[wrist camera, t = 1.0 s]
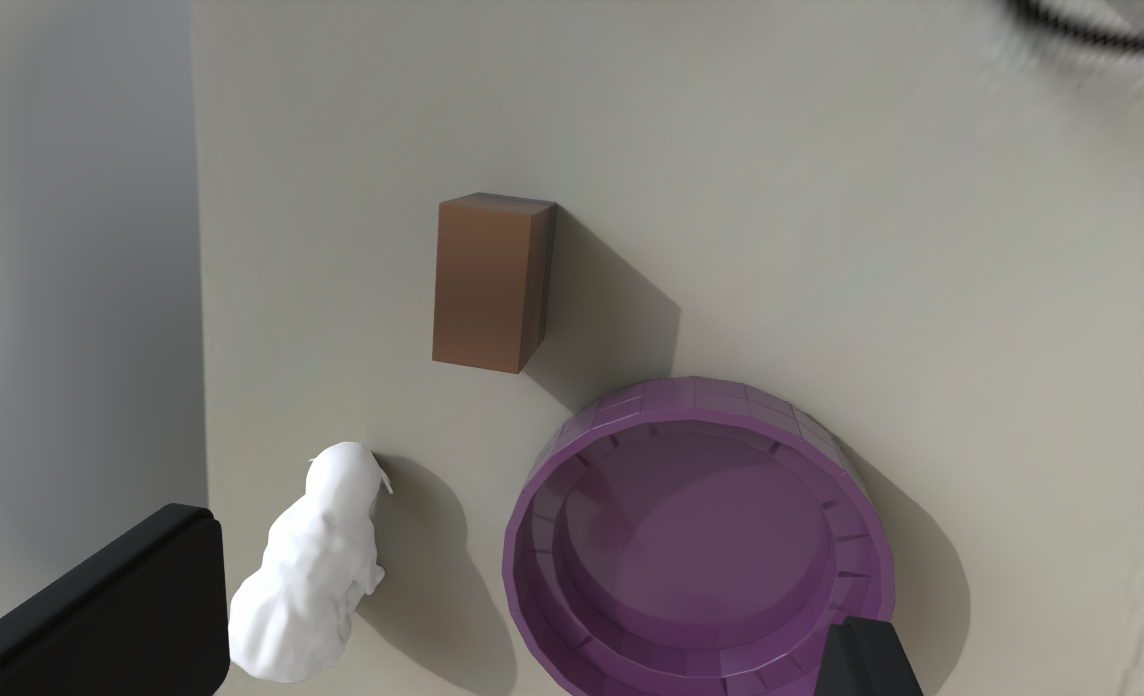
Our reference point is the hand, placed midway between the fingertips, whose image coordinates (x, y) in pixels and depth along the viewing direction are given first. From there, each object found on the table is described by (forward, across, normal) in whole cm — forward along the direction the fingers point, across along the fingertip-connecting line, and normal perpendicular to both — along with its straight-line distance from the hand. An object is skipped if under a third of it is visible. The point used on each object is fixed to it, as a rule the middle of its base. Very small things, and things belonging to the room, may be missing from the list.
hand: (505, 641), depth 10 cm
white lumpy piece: (+26, +15, +15) cm, 33 cm away
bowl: (+26, -5, +12) cm, 29 cm away
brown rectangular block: (+25, +6, -1) cm, 26 cm away
